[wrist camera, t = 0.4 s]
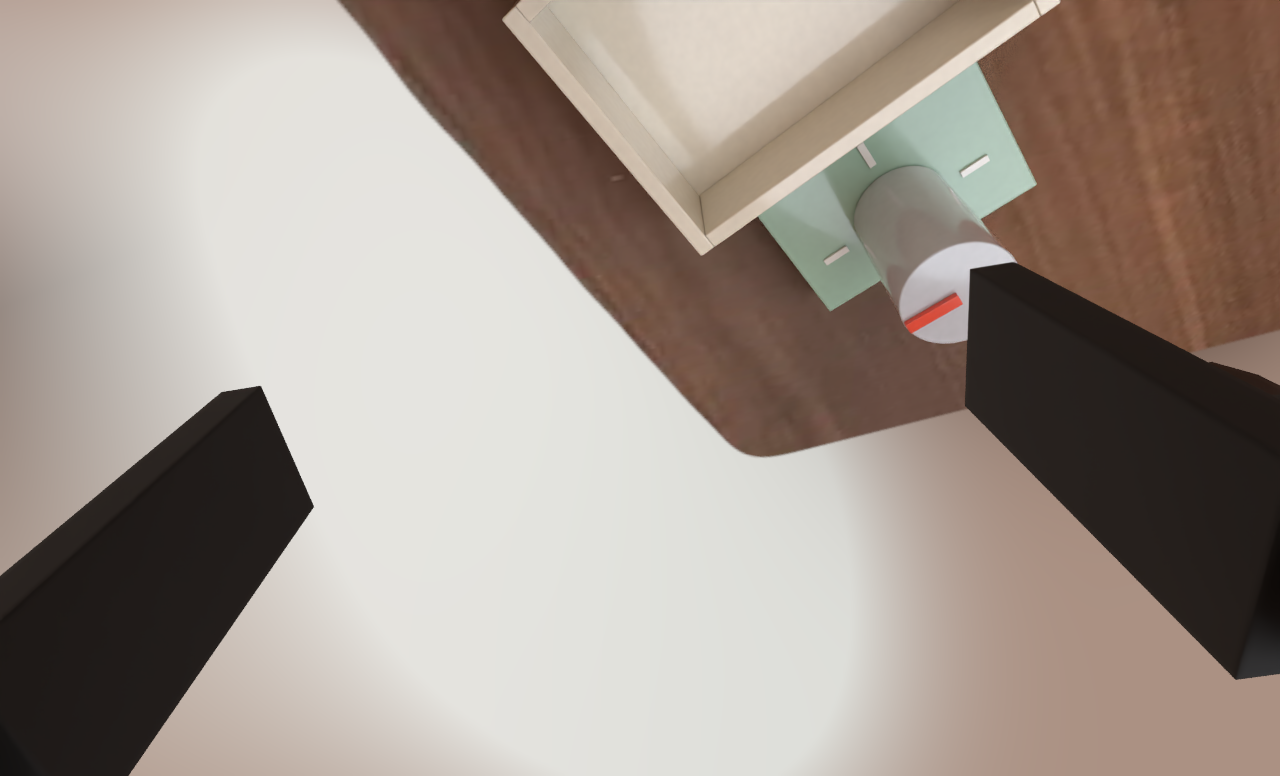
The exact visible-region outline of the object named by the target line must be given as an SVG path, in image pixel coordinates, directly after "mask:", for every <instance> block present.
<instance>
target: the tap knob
mask: <svg viewBox="0 0 1280 776" xmlns="http://www.w3.org/2000/svg"><path fill="white" fill-rule="evenodd" d="M854 228H855V232H856V235H857V237H858V239H859V241H860V243H861V245H862V247H863V248H864V250H865V252H866V254H867V256H868V258H869V260H870V262H871V264H872V265H873V267H874V269H875V271H876V273H877V275H878V277H879V279H880V281H881V282H882V284H883V286H884V288H885V290H886V292H887V294H888V296H889V298H890V299H891V301H892V303H893V305H894V307H895V309H896V311H897V313H898V315H899V316H900V318H901V320H902V322H903V324H904V326H905V327H906V328H907V329H908V330H909V332H910V333H912V334H913V335H915V336H917V337H918V338H921V339H923V340H925V341H929V342H933V343H945V344H946V343H956V342H961V341H965V340H967V337H968V309H969V281H970V269H972V268H979V267H985V266H991V265H997V264H1003V263H1009V262H1015V263H1017V261H1016V260H1015V258H1014V257H1013V255H1012V254H1011V253H1010V252H1009V251H1008V250H1007V249H1006V247H1005V246H1004V245H1003V244H1002V243H1001V242H1000V241H999V240H998V238H997V237H996V236H995V235H994V234H993V233H992V232H991V230H990V229H989V228H988V227H987V226H986V225H985V224H984V223H983V221H982V220H981V219H980V218H979V217H978V216H977V215H976V213H975V212H974V211H973V210H972V209H971V208H970V207H969V206H968V204H967V203H966V202H965V201H964V200H963V199H962V198H961V196H960V195H959V194H958V193H957V192H956V191H955V190H954V188H953V187H952V186H951V185H950V184H949V183H948V182H947V181H946V179H945V178H944V177H943V176H942V175H940V174H939V173H938V172H936V171H934V170H932V169H930V168H927V167H922V166H906V167H901V168H897V169H894V170H892V171H890V172H887V173H885V174H884V175H882V176H880V177H879V178H878V179H876V180H875V181H874V182H873V183H872V184H871V185H870V186H869V187H868V188H867V189H866V190H865V192H864V193H863V195H862V196H861V198H860V200H859V202H858V204H857V207H856V210H855V214H854ZM1017 264H1018V263H1017Z"/></svg>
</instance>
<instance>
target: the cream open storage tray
mask: <svg viewBox="0 0 1280 776" xmlns="http://www.w3.org/2000/svg"><path fill="white" fill-rule="evenodd" d="M1059 3H1060V0H518V1H517V2H516V3H515V4H514V5H513V6H512V8H511V9H510V10H509V11H508V12H507V14H506V15H505V16H504V17H503V19H502V20H503V22H504V23H505V24H506V26H507V27H508V28H509V29H510V30H511V32H512V33H513V34H514V35H515V36H516V38H517V39H518V40H519V41H520V42H521V43H522V45H523V46H524V47H525V48H526V49H527V51H528V52H529V53H530V54H531V55H532V56H533V58H534V59H535V60H536V61H537V62H538V64H539V65H540V66H541V67H542V68H543V69H544V71H545V72H546V73H547V74H548V75H549V77H550V78H551V79H552V80H553V81H554V82H555V84H556V85H557V86H558V87H559V88H560V90H561V91H562V92H563V93H564V94H565V96H566V97H567V98H568V99H569V100H570V101H571V103H572V104H573V105H574V106H575V107H576V109H577V110H578V111H579V112H580V113H581V114H582V116H583V117H584V118H585V119H586V120H587V122H588V123H589V124H590V125H591V126H592V127H593V129H594V130H595V131H596V132H597V133H598V135H599V136H600V137H601V138H602V139H603V140H604V142H605V143H606V144H607V145H608V146H609V148H610V149H611V150H612V151H613V152H614V154H615V155H616V156H617V157H618V158H619V159H620V161H621V162H622V163H623V164H624V165H625V167H626V168H627V169H628V170H629V171H630V172H631V174H632V175H633V176H634V177H635V178H636V180H637V181H638V182H639V183H640V184H641V185H642V187H643V188H644V189H645V190H646V191H647V193H648V194H649V195H650V196H651V197H652V198H653V200H654V201H655V202H656V203H657V204H658V206H659V207H660V208H661V209H662V210H663V212H664V213H665V214H666V215H667V216H668V217H669V219H670V220H671V221H672V222H673V223H674V225H675V226H676V227H677V228H678V229H679V230H680V232H681V233H682V234H683V235H684V236H685V238H686V239H687V240H688V241H689V242H690V243H691V245H692V246H693V247H694V248H695V249H696V251H697V252H698V253H699V254H700V255H701V256H702V255H704V254H705V253H706V252H708V251H709V250H711V249H712V248H713V247H714V246H716V245H718V244H719V243H721V242H722V241H724V240H725V239H726V238H728V237H729V236H731V235H732V234H733V233H735V232H736V231H738V230H739V229H741V228H742V227H743V226H745V225H746V224H748V223H749V222H750V221H752V220H753V219H755V218H756V217H758V216H759V215H760V214H762V213H763V212H765V211H766V210H767V209H769V208H770V207H772V206H773V205H774V204H776V203H777V202H779V201H780V200H782V199H783V198H784V197H786V196H787V195H789V194H790V193H791V192H793V191H794V190H796V189H797V188H799V187H800V186H801V185H803V184H804V183H806V182H807V181H808V180H810V179H811V178H813V177H814V176H816V175H817V174H818V173H820V172H821V171H823V170H824V169H825V168H827V167H828V166H830V165H831V164H833V163H834V162H835V161H837V160H838V159H840V158H841V157H842V156H844V155H845V154H847V153H848V152H850V151H851V150H852V149H854V148H855V147H857V146H858V145H859V144H861V143H862V142H864V141H865V140H866V139H868V138H869V137H871V136H872V135H874V134H875V133H876V132H878V131H879V130H881V129H882V128H883V127H885V126H886V125H888V124H889V123H891V122H892V121H893V120H895V119H896V118H898V117H899V116H900V115H902V114H903V113H905V112H906V111H908V110H909V109H910V108H912V107H913V106H915V105H916V104H917V103H919V102H920V101H922V100H923V99H925V98H926V97H927V96H929V95H930V94H932V93H933V92H934V91H936V90H937V89H939V88H940V87H942V86H943V85H944V84H946V83H947V82H949V81H950V80H951V79H953V78H954V77H956V76H957V75H958V74H960V73H961V72H963V71H964V70H966V69H967V68H968V67H970V66H971V65H973V64H974V63H975V62H977V61H978V60H980V59H981V58H983V57H984V56H985V55H987V54H988V53H990V52H991V51H992V50H994V49H995V48H997V47H998V46H1000V45H1001V44H1002V43H1004V42H1005V41H1007V40H1008V39H1009V38H1011V37H1012V36H1014V35H1015V34H1017V33H1018V32H1019V31H1021V30H1022V29H1024V28H1025V27H1026V26H1028V25H1029V24H1031V23H1032V22H1034V21H1035V20H1036V19H1038V18H1039V17H1040V16H1042V15H1044V14H1045V13H1046V12H1048V11H1049V10H1051V9H1052V8H1054V7H1055V6H1056V5H1058V4H1059Z"/></svg>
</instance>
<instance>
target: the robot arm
mask: <svg viewBox="0 0 1280 776" xmlns="http://www.w3.org/2000/svg"><path fill="white" fill-rule="evenodd" d="M965 406H966V407H967V408H968V409H969V410H970V411H971V412H972V413H973V414H974V415H975V416H976V417H977V418H978V419H979V420H980V421H981V422H982V423H983V424H984V425H985V426H986V427H987V428H988V429H989V431H991V432H992V434H993V435H995V437H996V438H997V439H999V441H1000V442H1001V443H1002V444H1003V445H1004V446H1005V447H1006V448H1007V449H1008V450H1009V451H1010V452H1011V453H1012V454H1013V455H1014V456H1015V457H1016V458H1017V459H1018V460H1019V461H1020V462H1021V463H1022V464H1023V465H1024V466H1025V467H1026V468H1027V469H1028V470H1029V471H1030V472H1031V473H1032V474H1033V475H1034V476H1035V477H1036V478H1037V479H1038V480H1039V481H1040V482H1041V483H1042V484H1043V485H1044V486H1045V487H1046V488H1047V489H1048V490H1049V491H1050V492H1051V493H1052V494H1053V495H1054V496H1055V497H1056V498H1057V499H1058V500H1059V501H1060V502H1061V503H1062V504H1063V505H1064V506H1065V507H1066V508H1067V509H1068V510H1069V511H1070V512H1071V514H1073V516H1074V517H1076V518H1077V520H1078V521H1079V522H1080V523H1081V524H1083V526H1084V527H1085V528H1086V529H1087V530H1088V531H1089V532H1090V533H1091V534H1092V535H1093V536H1094V537H1095V538H1096V539H1097V540H1098V541H1099V542H1100V543H1101V544H1102V545H1103V546H1104V547H1105V548H1106V549H1107V550H1108V551H1109V552H1110V553H1111V554H1112V555H1113V556H1114V557H1115V558H1116V559H1117V560H1118V561H1119V562H1120V563H1121V564H1122V565H1123V566H1124V567H1125V568H1126V569H1127V570H1128V571H1129V572H1130V573H1131V574H1132V575H1133V576H1134V577H1135V578H1136V579H1137V580H1138V581H1139V582H1140V583H1141V584H1142V585H1143V586H1144V587H1145V588H1146V589H1147V590H1148V591H1149V592H1150V593H1151V595H1153V596H1154V597H1155V599H1156V600H1157V601H1158V602H1159V603H1160V604H1161V605H1162V606H1163V607H1164V608H1165V609H1166V610H1167V611H1168V612H1169V613H1170V614H1171V615H1172V616H1173V617H1174V618H1175V619H1176V620H1177V621H1178V622H1179V623H1180V624H1181V625H1182V626H1183V627H1184V628H1185V629H1186V630H1187V631H1188V632H1189V633H1190V634H1191V635H1192V636H1193V637H1194V638H1195V639H1196V640H1197V641H1198V642H1199V643H1200V644H1201V645H1202V646H1203V647H1204V648H1205V649H1206V650H1207V651H1208V652H1209V653H1210V654H1211V655H1212V656H1213V657H1214V658H1215V659H1216V660H1217V661H1218V662H1219V663H1220V664H1221V665H1222V666H1223V667H1224V668H1225V669H1226V670H1227V671H1228V672H1229V673H1230V674H1231V675H1232V677H1234V679H1236V680H1237V679H1245V678H1252V677H1260V676H1267V675H1274V674H1280V385H1278V384H1275V383H1273V382H1271V381H1269V380H1267V379H1265V378H1263V377H1261V376H1259V375H1256V374H1253V373H1250V372H1246V371H1242V370H1239V369H1235V368H1232V367H1228V366H1224V365H1220V364H1217V363H1213V362H1209V363H1208V362H1206V361H1204V360H1202V359H1200V358H1198V357H1196V356H1195V355H1193V354H1191V353H1189V352H1187V351H1185V350H1183V349H1181V348H1179V347H1177V346H1175V345H1173V344H1172V343H1170V342H1168V341H1166V340H1164V339H1162V338H1160V337H1158V336H1156V335H1154V334H1152V333H1150V332H1148V331H1146V330H1144V329H1143V328H1141V327H1139V326H1137V325H1135V324H1133V323H1131V322H1129V321H1127V320H1125V319H1123V318H1121V317H1119V316H1117V315H1116V314H1114V313H1112V312H1110V311H1108V310H1106V309H1104V308H1102V307H1100V306H1098V305H1096V304H1094V303H1092V302H1090V301H1089V300H1087V299H1085V298H1083V297H1081V296H1079V295H1077V294H1075V293H1073V292H1071V291H1069V290H1067V289H1065V288H1063V287H1061V286H1060V285H1058V284H1056V283H1054V282H1052V281H1050V280H1048V279H1046V278H1044V277H1042V276H1040V275H1038V274H1036V273H1034V272H1033V271H1031V270H1029V269H1027V268H1025V267H1023V266H1021V265H1019V264H1017V263H1015V262H1009V263H1003V264H997V265H991V266H985V267H979V268H972V269H970V281H969V309H968V337H967V364H966V392H965ZM313 507H314V506H313V503H312V501H311V499H310V497H309V494H308V492H307V490H306V487H305V485H304V483H303V481H302V478H301V476H300V474H299V472H298V469H297V467H296V465H295V462H294V460H293V458H292V456H291V453H290V451H289V449H288V447H287V444H286V442H285V440H284V437H283V436H282V433H281V431H280V428H279V426H278V424H277V421H276V419H275V417H274V415H273V412H272V410H271V408H270V406H269V403H268V401H267V399H266V397H265V394H264V392H263V390H262V388H261V386H256V387H251V388H245V389H238V390H232V391H226V392H221V393H220V394H219V395H218V396H217V397H215V398H214V399H213V400H212V401H210V402H209V403H208V404H207V405H206V406H205V407H203V408H202V409H201V410H200V411H199V412H197V413H196V414H195V415H194V416H192V417H191V418H190V419H189V420H188V421H186V422H185V423H184V424H183V425H182V426H180V427H179V428H178V429H177V430H176V431H174V432H173V433H172V434H171V435H169V436H168V437H167V438H166V439H165V440H163V441H162V442H161V443H160V444H159V445H157V446H156V447H155V448H154V449H153V450H151V451H150V452H149V453H148V454H147V455H145V456H144V457H143V458H142V459H141V460H139V461H138V462H137V463H136V464H135V465H133V466H132V467H131V468H130V469H129V470H127V471H126V472H125V473H124V474H122V475H121V476H120V477H119V478H118V479H116V480H115V481H114V482H113V483H112V484H110V485H109V486H108V487H107V488H106V489H105V490H103V491H102V492H101V493H100V494H99V495H97V496H96V497H95V498H94V499H93V500H91V501H90V502H89V503H88V504H86V505H85V506H84V507H83V508H82V509H80V510H79V511H78V512H77V513H76V514H74V515H73V516H72V517H71V518H69V519H68V520H67V521H66V522H65V523H63V524H62V525H61V526H60V527H59V528H57V529H56V530H55V531H54V532H53V533H51V534H50V535H49V536H48V537H47V538H46V539H44V540H43V541H42V542H41V543H39V544H38V545H37V546H36V547H35V548H33V549H32V550H31V551H30V552H29V553H28V554H26V555H25V556H24V557H23V558H21V559H20V560H19V561H18V562H17V563H15V564H14V565H13V566H12V567H11V568H9V569H8V570H7V571H6V572H5V573H3V574H2V575H1V576H0V776H129V774H130V773H131V771H132V770H133V768H134V767H135V765H136V764H137V763H138V761H139V760H140V758H141V757H142V755H143V754H144V752H145V751H146V749H147V748H148V746H149V745H150V744H151V742H152V741H153V739H154V738H155V736H156V735H157V734H158V732H159V731H160V729H161V728H162V726H163V725H164V723H165V722H166V721H167V719H168V718H169V716H170V715H171V713H172V712H173V710H174V709H175V707H176V706H177V705H178V703H179V701H180V700H181V699H182V697H183V696H184V694H185V693H186V692H187V690H188V688H189V687H190V686H191V684H192V683H193V681H194V680H195V678H196V677H197V676H198V674H199V673H200V671H201V670H202V668H203V667H204V665H205V664H206V662H207V661H208V660H209V658H210V657H211V655H212V654H213V652H214V651H215V649H216V648H217V647H218V645H219V644H220V642H221V641H222V639H223V638H224V636H225V635H226V634H227V632H228V631H229V629H230V628H231V626H232V625H233V623H234V622H235V620H236V619H237V618H238V616H239V615H240V613H241V612H242V610H243V609H244V607H245V606H246V605H247V603H248V602H249V600H250V599H251V597H252V596H253V594H254V593H255V591H256V590H257V589H258V587H259V586H260V584H261V583H262V581H263V580H264V578H265V577H266V576H267V574H268V572H269V571H270V570H271V568H272V567H273V565H274V564H275V563H276V561H277V560H278V558H279V557H280V555H281V554H282V552H283V551H284V549H285V548H286V547H287V545H288V544H289V542H290V541H291V539H292V538H293V536H294V535H295V534H296V532H297V531H298V529H299V528H300V526H301V525H302V523H303V522H304V521H305V519H306V518H307V516H308V515H309V513H310V512H311V510H312V509H313Z"/></svg>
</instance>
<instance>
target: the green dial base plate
mask: <svg viewBox="0 0 1280 776" xmlns="http://www.w3.org/2000/svg"><path fill="white" fill-rule="evenodd" d="M906 166H922V167H927V168H930V169H932V170H934V171H936V172H938V173H939V174H940V175H942V176H943V177H944V178H945V179H946V181H947V182H948V183H949V184H950V185H951V186H952V187H953V188H954V190H955V191H956V192H957V193H958V194H959V195H960V196H961V198H962V199H963V200H964V201H965V202H966V203H967V204H968V206H969V207H970V208H971V209H972V210H973V211H974V212H975V213H976V215H977V216H978V217H979V218H980V219H982V218H984V217H985V216H987V215H988V214H990V213H992V212H993V211H995V210H997V209H998V208H1000V207H1002V206H1003V205H1005V204H1006V203H1008V202H1010V201H1011V200H1013V199H1015V198H1016V197H1018V196H1019V195H1021V194H1023V193H1024V192H1026V191H1028V190H1029V189H1031V188H1033V187H1034V186H1036V185H1037V183H1036V181H1035V179H1034V176H1033V174H1032V172H1031V170H1030V168H1029V166H1028V164H1027V162H1026V160H1025V158H1024V156H1023V154H1022V152H1021V150H1020V148H1019V146H1018V144H1017V142H1016V140H1015V138H1014V136H1013V134H1012V132H1011V130H1010V128H1009V126H1008V124H1007V121H1006V119H1005V117H1004V115H1003V113H1002V111H1001V109H1000V107H999V105H998V103H997V101H996V99H995V97H994V95H993V93H992V91H991V89H990V87H989V85H988V83H987V81H986V79H985V77H984V75H983V73H982V71H981V69H980V66H979V64H978V62H975V63H974V64H973V65H971V66H970V67H968V68H967V69H966V70H964V71H963V72H961V73H960V74H958V75H957V76H956V77H954V78H953V79H951V80H950V81H949V82H947V83H946V84H944V85H943V86H942V87H940V88H939V89H937V90H936V91H934V92H933V93H932V94H930V95H929V96H927V97H926V98H925V99H923V100H922V101H920V102H919V103H917V104H916V105H915V106H913V107H912V108H910V109H909V110H908V111H906V112H905V113H903V114H902V115H900V116H899V117H898V118H896V119H895V120H893V121H892V122H891V123H889V124H888V125H886V126H885V127H883V128H882V129H881V130H879V131H878V132H876V133H875V134H874V135H872V136H871V137H869V138H868V139H866V140H865V141H864V142H862V143H861V144H859V145H858V146H857V147H855V148H854V149H852V150H851V151H850V152H848V153H847V154H845V155H844V156H842V157H841V158H840V159H838V160H837V161H835V162H834V163H833V164H831V165H830V166H828V167H827V168H825V169H824V170H823V171H821V172H820V173H818V174H817V175H816V176H814V177H813V178H811V179H810V180H808V181H807V182H806V183H804V184H803V185H801V186H800V187H799V188H797V189H796V190H794V191H793V192H791V193H790V194H789V195H787V196H786V197H784V198H783V199H782V200H780V201H779V202H777V203H776V204H774V205H773V206H772V207H770V208H769V209H767V210H766V211H765V212H763V213H762V214H760V215H759V216H758V218H759V219H760V221H761V222H762V223H763V225H764V226H765V227H766V229H767V230H768V231H769V232H770V234H771V235H772V236H773V238H774V239H775V240H776V242H777V243H778V244H779V246H780V247H781V248H782V250H783V251H784V252H785V253H786V255H787V256H788V257H789V259H790V260H791V261H792V263H793V264H794V265H795V267H796V268H797V269H798V270H799V272H800V273H801V274H802V276H803V277H804V278H805V280H806V281H807V282H808V284H809V285H810V286H811V288H812V289H813V290H814V291H815V293H816V294H817V295H818V297H819V298H820V299H821V301H822V302H823V303H824V305H825V306H826V307H827V309H828V310H829V311H832V310H833V309H835V308H837V307H838V306H840V305H842V304H843V303H845V302H846V301H848V300H850V299H851V298H853V297H855V296H856V295H858V294H860V293H861V292H863V291H864V290H866V289H868V288H869V287H871V286H873V285H874V284H876V283H877V282H879V281H880V279H879V277H878V275H877V273H876V271H875V269H874V267H873V265H872V264H871V262H870V260H869V258H868V256H867V254H866V252H865V250H864V248H863V247H862V245H861V243H860V241H859V239H858V237H857V235H856V232H855V228H854V214H855V210H856V207H857V204H858V202H859V200H860V198H861V196H862V195H863V193H864V192H865V190H866V189H867V188H868V187H869V186H870V185H871V184H872V183H873V182H874V181H875V180H876V179H878V178H879V177H880V176H882V175H884V174H885V173H887V172H890V171H892V170H894V169H897V168H901V167H906Z"/></svg>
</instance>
